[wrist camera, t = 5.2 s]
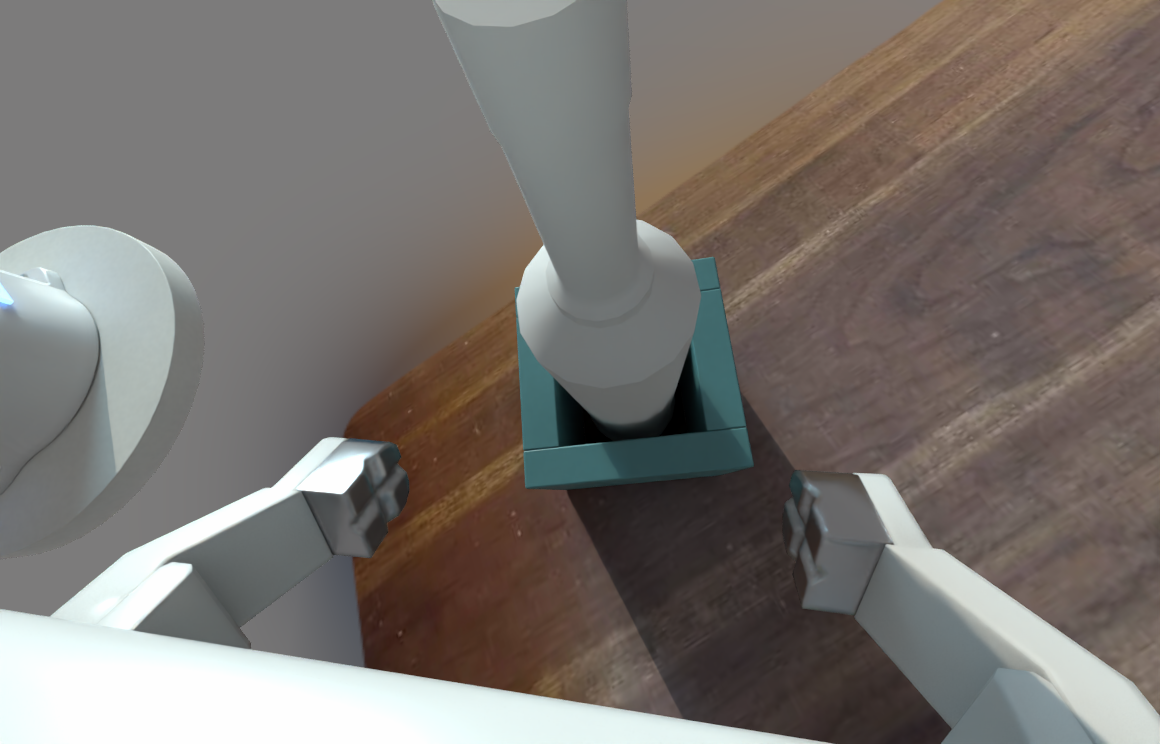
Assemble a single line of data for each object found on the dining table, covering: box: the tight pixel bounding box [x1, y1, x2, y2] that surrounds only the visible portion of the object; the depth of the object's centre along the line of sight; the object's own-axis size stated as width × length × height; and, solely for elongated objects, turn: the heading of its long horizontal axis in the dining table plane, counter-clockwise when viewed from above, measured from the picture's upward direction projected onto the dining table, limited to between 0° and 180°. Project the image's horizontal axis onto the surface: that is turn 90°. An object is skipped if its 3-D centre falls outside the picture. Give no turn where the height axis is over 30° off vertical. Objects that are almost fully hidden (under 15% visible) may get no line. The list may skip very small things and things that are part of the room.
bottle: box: [431, 0, 701, 441], centre depth 16 cm, size 5×5×25 cm
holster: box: [515, 257, 754, 490], centre depth 24 cm, size 9×9×9 cm
